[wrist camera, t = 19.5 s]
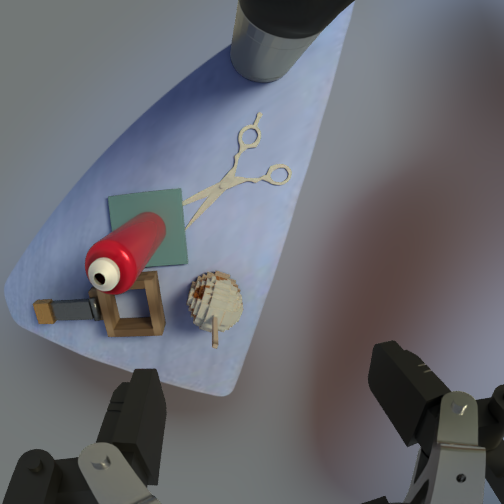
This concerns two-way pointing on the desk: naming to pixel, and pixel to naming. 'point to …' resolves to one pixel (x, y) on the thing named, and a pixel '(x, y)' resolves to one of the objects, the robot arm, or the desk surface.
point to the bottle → (124, 253)
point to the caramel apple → (215, 303)
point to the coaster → (165, 207)
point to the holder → (133, 325)
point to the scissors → (230, 177)
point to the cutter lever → (66, 310)
